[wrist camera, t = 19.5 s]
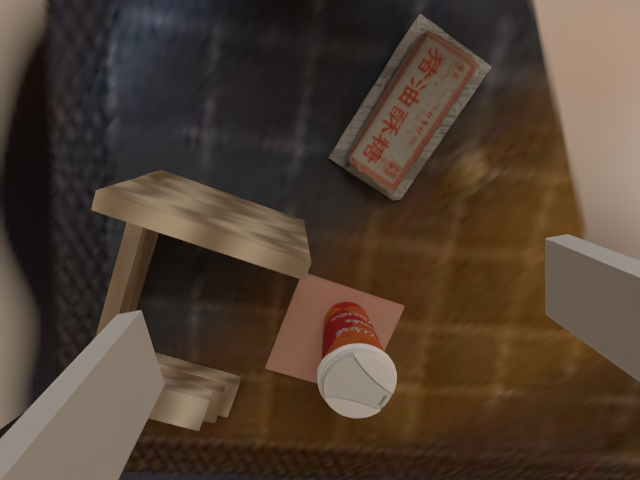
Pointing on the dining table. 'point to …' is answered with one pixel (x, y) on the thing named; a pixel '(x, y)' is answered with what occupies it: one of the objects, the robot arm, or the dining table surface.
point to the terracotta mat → (322, 324)
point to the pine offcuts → (193, 393)
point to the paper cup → (354, 364)
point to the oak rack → (193, 231)
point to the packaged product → (409, 109)
